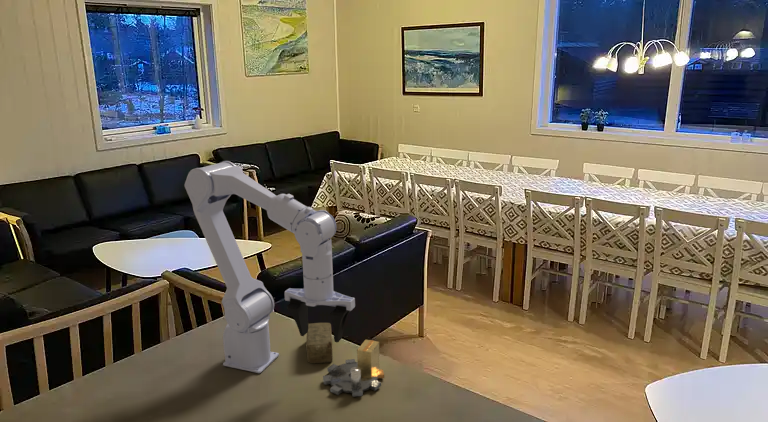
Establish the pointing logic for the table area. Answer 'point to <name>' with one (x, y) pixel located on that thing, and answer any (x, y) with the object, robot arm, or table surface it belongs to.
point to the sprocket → (351, 379)
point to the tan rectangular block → (368, 358)
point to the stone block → (319, 343)
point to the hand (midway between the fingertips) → (321, 336)
